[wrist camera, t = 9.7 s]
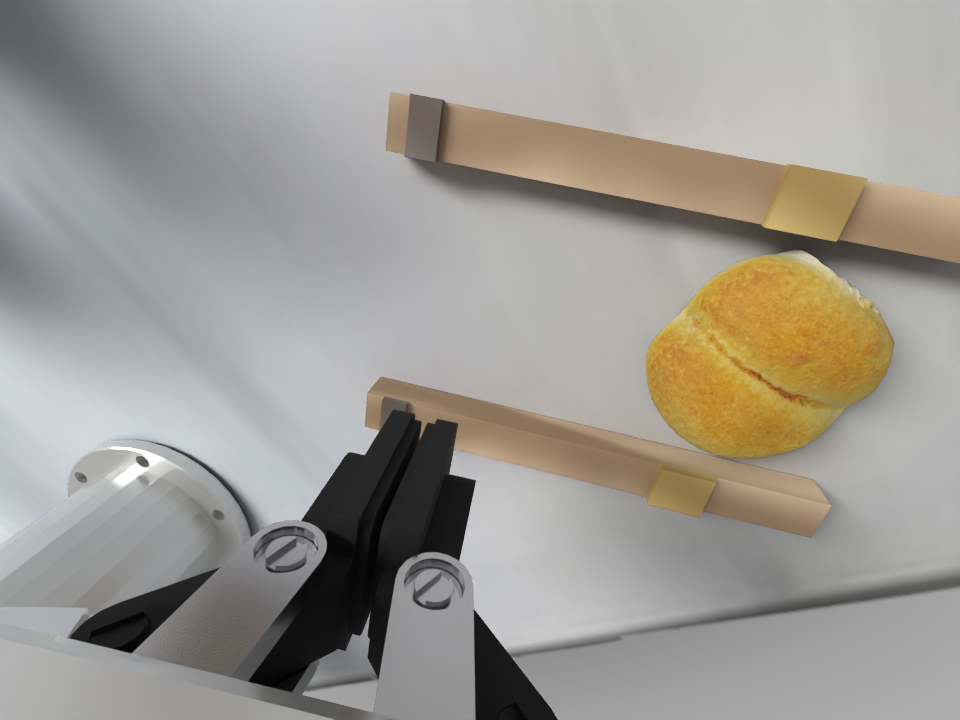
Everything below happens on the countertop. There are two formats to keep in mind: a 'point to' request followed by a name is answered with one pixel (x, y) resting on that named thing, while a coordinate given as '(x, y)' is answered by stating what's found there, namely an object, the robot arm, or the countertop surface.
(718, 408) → the bread roll
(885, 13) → the countertop surface
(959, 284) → the countertop surface
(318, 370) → the countertop surface
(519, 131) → the slot rails
